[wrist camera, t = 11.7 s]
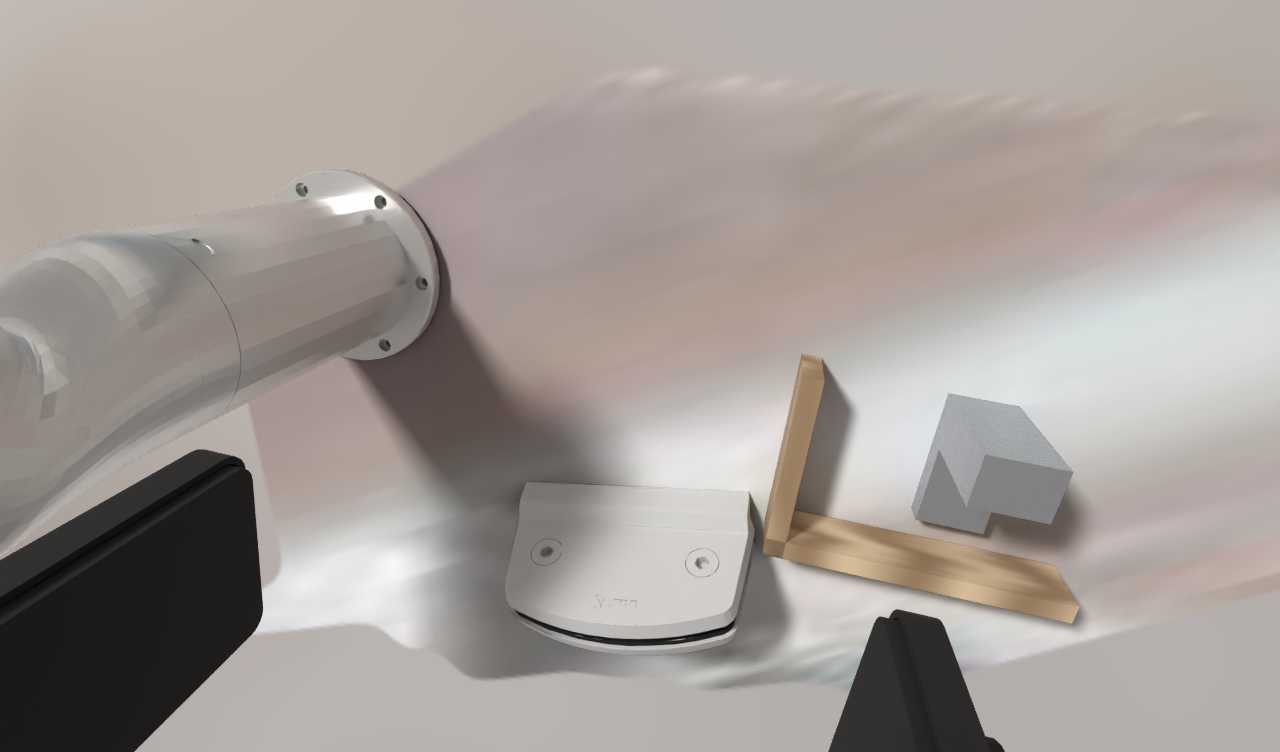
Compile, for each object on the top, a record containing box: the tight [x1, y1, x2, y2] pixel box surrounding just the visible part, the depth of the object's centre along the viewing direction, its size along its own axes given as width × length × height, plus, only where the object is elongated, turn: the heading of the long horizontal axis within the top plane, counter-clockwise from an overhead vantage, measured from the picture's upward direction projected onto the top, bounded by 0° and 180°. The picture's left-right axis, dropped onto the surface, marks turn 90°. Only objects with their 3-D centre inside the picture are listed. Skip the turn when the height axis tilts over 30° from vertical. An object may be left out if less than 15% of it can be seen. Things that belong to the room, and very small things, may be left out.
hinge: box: [504, 482, 756, 656], centre depth 44 cm, size 17×5×10 cm, turn 94°
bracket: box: [912, 394, 1073, 534], centre depth 37 cm, size 8×4×8 cm, turn 173°
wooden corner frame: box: [763, 354, 1079, 624], centre depth 39 cm, size 18×12×4 cm, turn 83°
